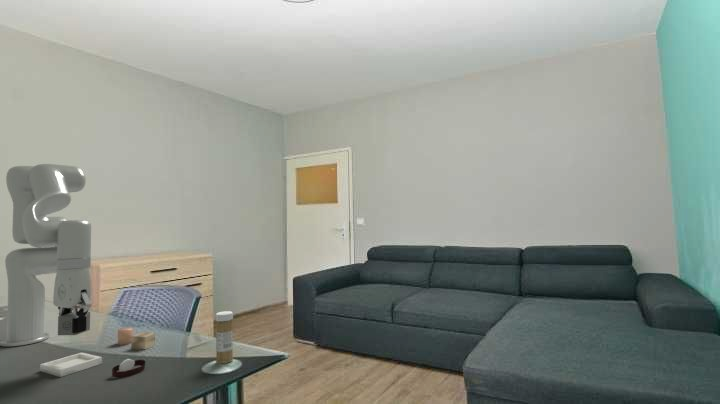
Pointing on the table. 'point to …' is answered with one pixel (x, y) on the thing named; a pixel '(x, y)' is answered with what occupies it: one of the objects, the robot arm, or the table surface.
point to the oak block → (143, 340)
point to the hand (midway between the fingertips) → (72, 330)
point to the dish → (70, 364)
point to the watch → (128, 368)
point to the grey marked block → (70, 324)
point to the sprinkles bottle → (224, 337)
